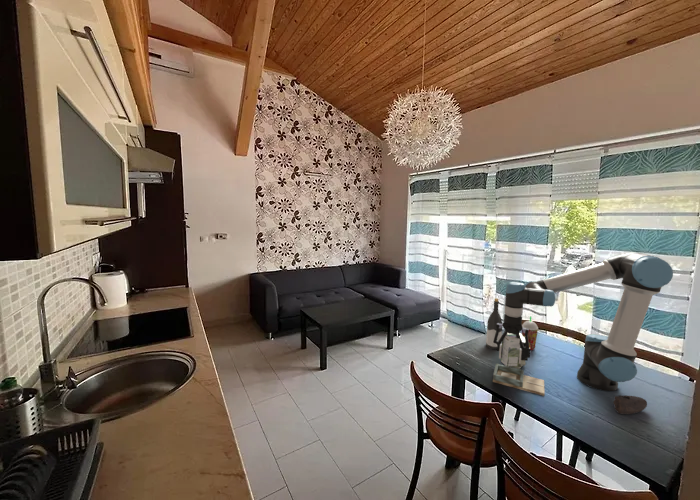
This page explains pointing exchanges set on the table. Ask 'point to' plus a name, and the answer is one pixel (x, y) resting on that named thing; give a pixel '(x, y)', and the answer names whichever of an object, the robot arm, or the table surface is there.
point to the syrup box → (510, 350)
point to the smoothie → (531, 333)
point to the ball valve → (526, 354)
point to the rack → (518, 379)
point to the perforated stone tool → (629, 404)
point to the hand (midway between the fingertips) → (509, 359)
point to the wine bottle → (493, 326)
